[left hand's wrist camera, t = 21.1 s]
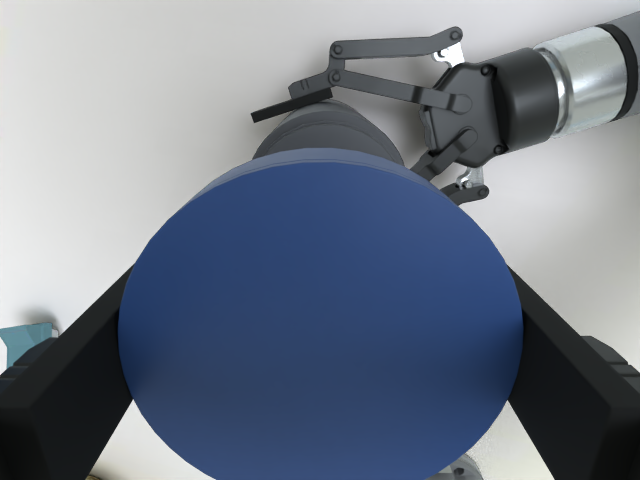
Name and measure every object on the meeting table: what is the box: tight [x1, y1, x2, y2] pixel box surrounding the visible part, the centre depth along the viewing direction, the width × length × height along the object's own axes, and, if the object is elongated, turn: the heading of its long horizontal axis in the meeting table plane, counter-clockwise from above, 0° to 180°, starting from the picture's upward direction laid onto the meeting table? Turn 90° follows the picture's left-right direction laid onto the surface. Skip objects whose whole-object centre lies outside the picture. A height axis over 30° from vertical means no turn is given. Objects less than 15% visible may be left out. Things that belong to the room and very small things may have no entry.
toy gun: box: [0, 323, 58, 369], centre depth 46 cm, size 4×19×10 cm
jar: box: [252, 99, 405, 167], centre depth 32 cm, size 10×10×20 cm
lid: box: [118, 148, 524, 480], centre depth 11 cm, size 10×10×2 cm
